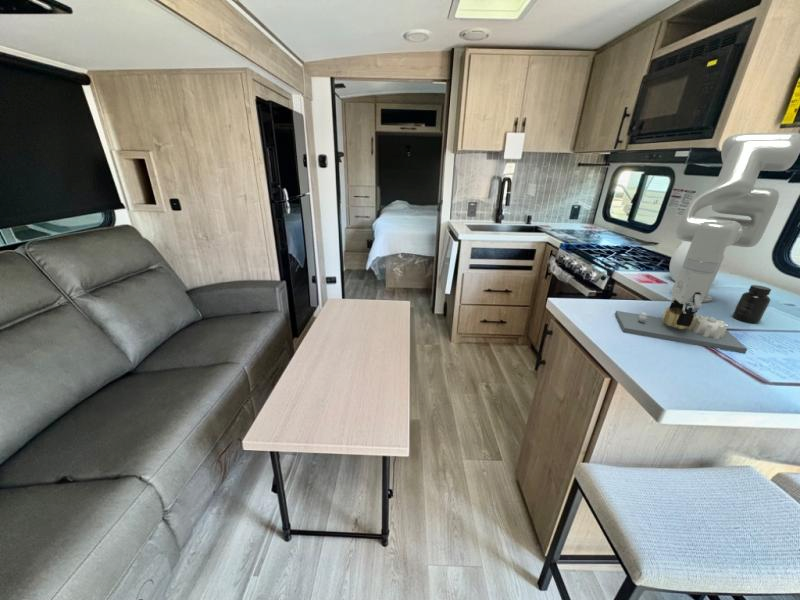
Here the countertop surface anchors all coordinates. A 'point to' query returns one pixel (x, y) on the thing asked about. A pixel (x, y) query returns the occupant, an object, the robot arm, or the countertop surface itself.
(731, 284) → the countertop surface
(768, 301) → the supplement bottle
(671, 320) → the brass gear
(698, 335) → the gear board
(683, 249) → the pitcher
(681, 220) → the robot arm
